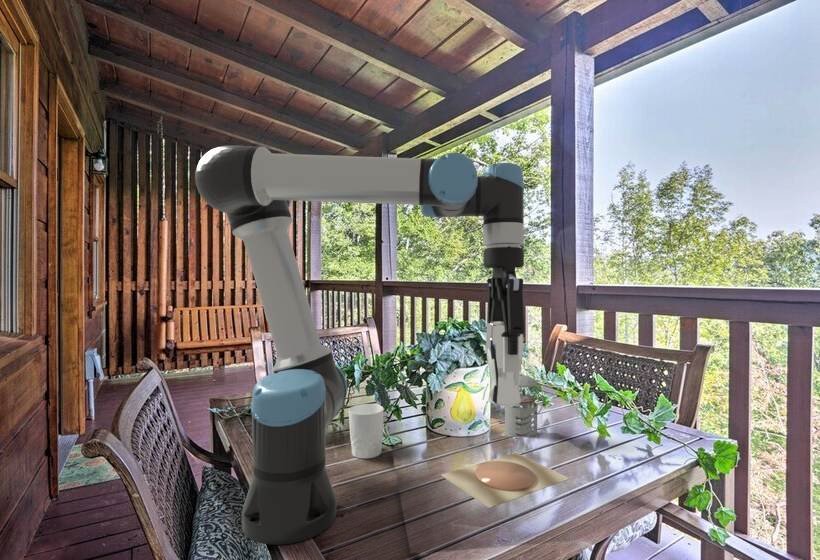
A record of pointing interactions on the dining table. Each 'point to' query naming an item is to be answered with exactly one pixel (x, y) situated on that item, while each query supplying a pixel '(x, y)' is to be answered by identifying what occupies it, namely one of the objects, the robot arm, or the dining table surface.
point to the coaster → (505, 475)
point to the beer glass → (501, 367)
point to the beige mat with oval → (494, 497)
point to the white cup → (366, 430)
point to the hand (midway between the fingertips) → (504, 367)
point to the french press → (523, 411)
